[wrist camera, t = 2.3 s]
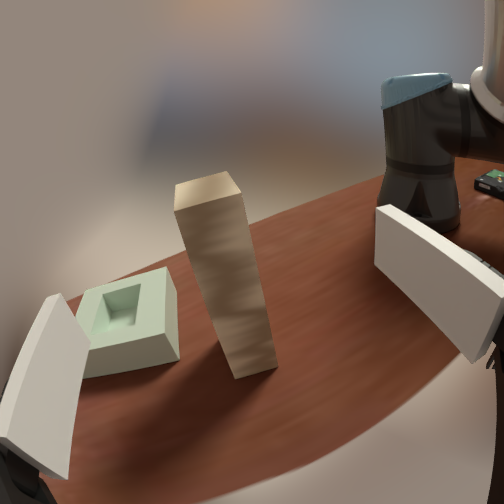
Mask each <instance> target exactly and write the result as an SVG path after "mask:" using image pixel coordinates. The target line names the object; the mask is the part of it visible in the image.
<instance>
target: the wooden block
mask: <svg viewBox="0 0 504 504" xmlns="http://www.w3.org/2000/svg"><path fill="white" fill-rule="evenodd" d="M174 213H175V216H176V219H177V223H178V226H179V229H180V232H181V235H182V238H183V241H184V244H185V247H186V250H187V253H188V256H189V259H190V262H191V265H192V268H193V271H194V274H195V277H196V279H197V282H198V285H199V288H200V291H201V293H202V296H203V299H204V302H205V304H206V307H207V310H208V312H209V315H210V318H211V320H212V323H213V326H214V328H215V331H216V333H217V336H218V338H219V341H220V344H221V346H222V349H223V351H224V354H225V356H226V359H227V361H228V363H229V366H230V368H231V371H232V373H233V376H234V378H235V379H238V378H242V377H245V376H249V375H252V374H256V373H259V372H263V371H266V370H269V369H273V368H276V367H278V362H277V358H276V353H275V348H274V343H273V339H272V334H271V329H270V325H269V320H268V315H267V310H266V306H265V301H264V296H263V292H262V287H261V282H260V277H259V273H258V268H257V263H256V259H255V254H254V249H253V245H252V240H251V235H250V231H249V226H248V221H247V217H246V212H245V207H244V203H243V198H242V193H241V192H240V190H239V188H238V187H237V186H236V184H235V183H234V181H233V180H232V178H231V177H230V175H229V174H228V173H227V171H225V172H221V173H217V174H213V175H210V176H206V177H202V178H199V179H195V180H191V181H188V182H184V183H181V184H177V185H176V189H175V202H174Z"/></svg>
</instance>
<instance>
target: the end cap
mask: <svg viewBox="0 0 504 504" xmlns="http://www.w3.org/2000/svg"><path fill="white" fill-rule="evenodd" d="M75 318H76V320H77V322H78V323H79V325H80V326H81V328H82V329H83V331H84V333H85V334H86V336H87V337H88V339H89V340H90V342H91V344H90V348H89V352H88V356H87V360H86V365H85V369H84V373H83V378H82V379H85V378H91V377H97V376H104V375H109V374H115V373H121V372H126V371H131V370H136V369H141V368H146V367H151V366H156V365H161V364H165V363H170V362H174V361H178V360H179V342H178V320H177V291H176V289H175V286H174V284H173V281H172V279H171V276H170V274H169V271H168V269H167V267H164V268H160V269H157V270H153V271H150V272H146V273H143V274H139V275H136V276H132V277H129V278H125V279H122V280H118V281H115V282H111V283H108V284H104V285H101V286H97V287H94V288H91V289H87V290H85V293H84V295H83V298H82V301H81V303H80V306H79V308H78V311H77V314H76V316H75Z"/></svg>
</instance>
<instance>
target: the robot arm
mask: <svg viewBox="0 0 504 504" xmlns="http://www.w3.org/2000/svg"><path fill="white" fill-rule="evenodd" d="M452 81H453V80H452V78H451V76H450V74H448V73H427V74H415V75H405V76H397V77H391V78H388V79H386V80H385V81H383V83H382V85H381V98H382V106H381V109H383V117H384V129H385V146H386V172H385V175H384V178H383V182H382V186H381V190H380V193H379V195H378V197H377V208H376V229H375V259H374V265H375V266H377V267H378V268H379V269H380V270H381V271H382V272H383V273H384V274H385V275H386V276H387V277H388V278H389V279H390V280H391V281H392V282H393V283H395V284H396V285H397V286H398V287H399V288H400V289H401V290H402V291H403V292H404V293H405V294H406V295H407V296H408V297H409V298H410V299H411V300H412V301H413V302H414V303H415V304H416V305H417V306H418V307H419V308H420V309H421V310H422V311H423V312H424V313H425V314H426V315H427V316H428V317H429V318H430V319H431V320H432V321H433V322H434V323H435V324H436V325H437V327H438V328H439V329H440V330H441V331H442V332H443V333H444V334H445V335H446V336H447V337H448V338H449V339H450V340H451V341H452V343H453V344H454V345H455V346H456V347H457V348H458V349H459V350H460V351H461V352H462V353H463V354H464V356H465V357H466V358H467V359H468V360H469V361H470V362H471V364H473V363H474V362H476V361H477V360H478V359H480V358H481V357H482V356H483V355H485V353H486V352H487V350H488V348H489V346H490V344H491V342H492V341H493V342H494V343H495V344H496V347H495V349H494V351H493V353H492V355H491V357H490V358H489V360H488V362H487V365H486V369H489V367H490V365H491V364H492V362H493V360H494V361H495V363H494V365H493V367H492V369H495V373H496V392H497V425H496V444H495V455H494V464H493V472H492V479H491V485H490V490H489V496H488V501H487V504H504V275H502V274H501V273H500V272H498V271H497V270H496V269H494V268H493V267H492V268H491V266H490V265H489V264H488V263H486V262H485V261H484V262H483V260H482V259H481V258H479V257H478V256H476V255H475V254H474V253H472V252H469V251H467V250H464V249H462V248H459V247H458V246H457V245H455V244H454V243H452V242H451V241H449V240H448V239H446V238H445V237H443V236H441V235H440V234H439V233H444V232H448V231H450V230H452V229H454V228H455V227H457V226H458V224H459V222H460V214H461V205H460V202H459V198H458V192H457V186H456V181H455V176H454V161H455V157H463V158H470V159H478V160H484V161H490V162H495V163H501V164H504V0H485V39H484V56H483V66H481V67H479V68H477V69H476V70H475V71H474V72H473V73H472V76H471V81H470V85H467V84H458V83H452ZM90 344H91V342H90V340H89V339H88V337H87V336H86V334H85V333H84V331H83V329H82V328H81V326H80V325H79V323H78V322H77V320H76V318H75V317H74V315H73V313H72V312H71V310H70V308H69V307H68V305H67V303H66V302H65V300H64V298H63V296H62V295H61V293H59V294H56V295H52V296H49V297H47V298H46V300H45V302H44V304H43V306H42V308H41V310H40V312H39V314H38V315H37V317H36V319H35V321H34V323H33V325H32V327H31V329H30V332H29V334H28V336H27V338H26V340H25V342H24V344H23V347H22V349H21V351H20V354H19V356H18V358H17V361H16V363H15V366H14V368H13V370H12V373H11V376H10V378H9V379H8V381H7V382H6V384H5V386H4V389H3V392H2V397H1V398H0V504H57V502H56V500H55V499H54V497H53V495H52V494H51V492H50V490H49V488H48V487H47V485H46V483H45V482H44V481H43V479H41V478H40V477H39V471H41V472H42V473H44V474H45V475H47V476H49V477H50V478H54V479H62V480H68V471H69V460H70V450H71V442H72V434H73V427H74V421H75V415H76V409H77V403H78V398H79V393H80V388H81V383H82V378H83V373H84V369H85V365H86V360H87V356H88V352H89V348H90Z"/></svg>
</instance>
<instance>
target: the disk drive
mask: <svg viewBox="0 0 504 504" xmlns="http://www.w3.org/2000/svg"><path fill="white" fill-rule="evenodd" d="M474 188H475V189H478V190H481V191H483V192H486V193H488V194H491V195H493V196H496V197H498V198H500V199H503V200H504V172H501V171H498V170H491V171H489V172H487V173H485V174H483V175H481V176H479V177H477V178H476V179H475V182H474Z"/></svg>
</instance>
